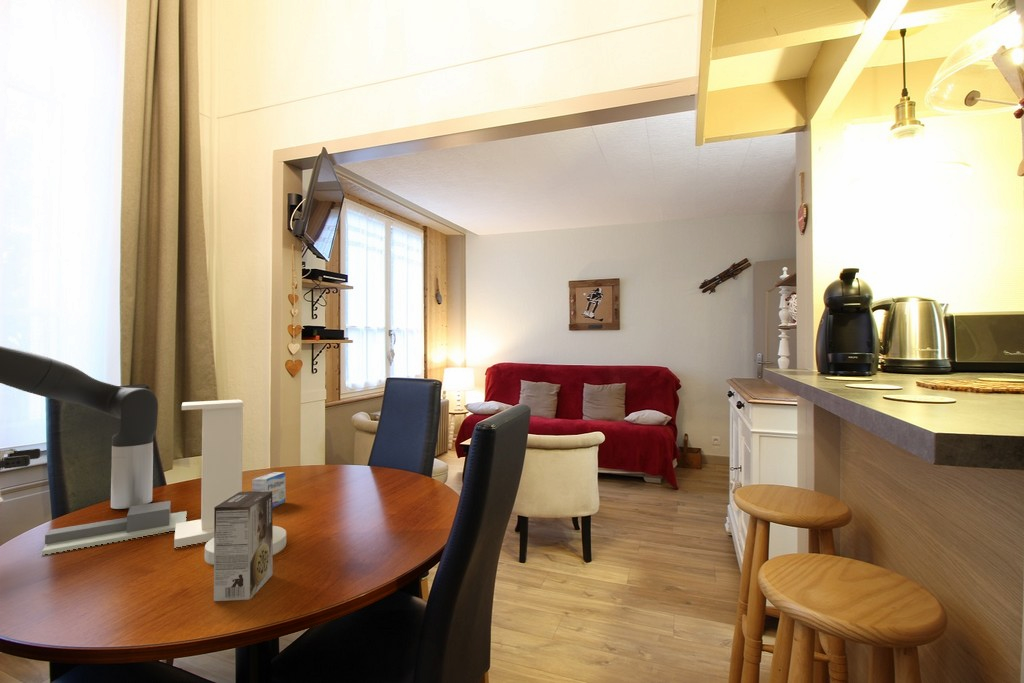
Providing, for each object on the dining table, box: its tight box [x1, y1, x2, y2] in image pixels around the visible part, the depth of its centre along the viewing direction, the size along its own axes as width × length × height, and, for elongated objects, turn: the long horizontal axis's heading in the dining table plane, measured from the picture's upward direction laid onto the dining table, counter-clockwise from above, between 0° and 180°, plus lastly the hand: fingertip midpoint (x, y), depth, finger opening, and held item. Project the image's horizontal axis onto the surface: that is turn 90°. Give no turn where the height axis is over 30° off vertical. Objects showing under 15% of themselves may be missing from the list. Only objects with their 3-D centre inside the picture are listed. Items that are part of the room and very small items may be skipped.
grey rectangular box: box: [213, 490, 274, 602], centre depth 83 cm, size 9×6×16 cm
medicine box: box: [252, 471, 286, 509], centre depth 129 cm, size 8×4×9 cm, turn 168°
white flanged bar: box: [173, 398, 244, 549], centre depth 110 cm, size 12×14×31 cm
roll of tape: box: [204, 525, 287, 566], centre depth 100 cm, size 16×15×3 cm
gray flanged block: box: [44, 500, 172, 545], centre depth 109 cm, size 8×22×4 cm, turn 125°
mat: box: [41, 510, 188, 556], centre depth 110 cm, size 13×25×1 cm, turn 125°
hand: (35, 456), depth 102 cm, fingers open, 8 cm apart
